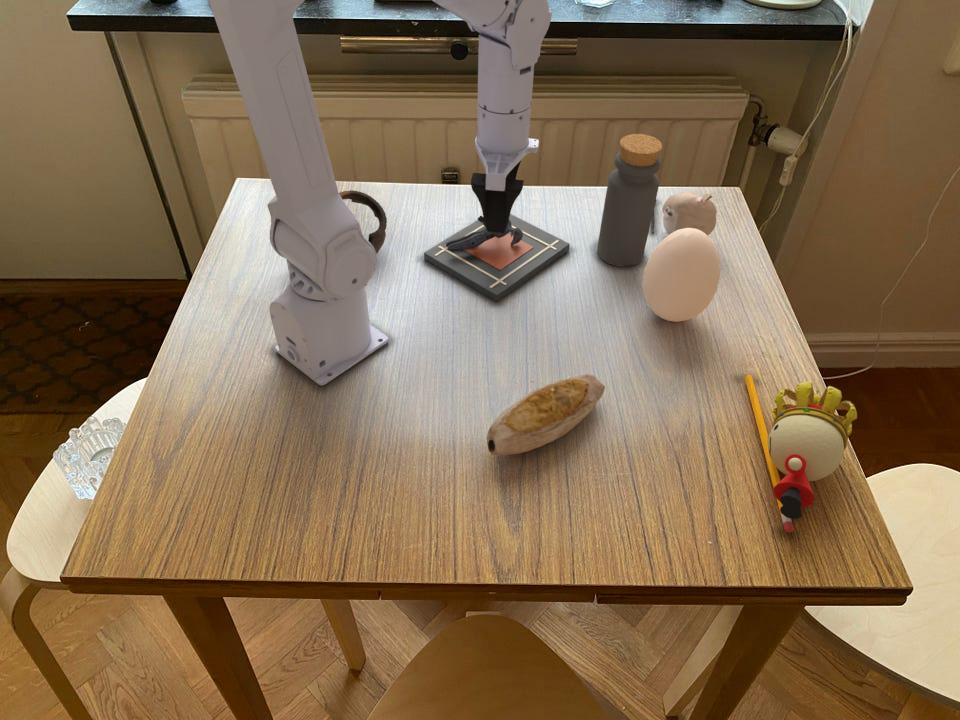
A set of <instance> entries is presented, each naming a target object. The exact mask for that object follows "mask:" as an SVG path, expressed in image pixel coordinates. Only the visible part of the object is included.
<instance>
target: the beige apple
mask: <svg viewBox="0 0 960 720" xmlns="http://www.w3.org/2000/svg"><path fill="white" fill-rule="evenodd" d="M713 194H714V193H707V194H704V195H701V194H698V193H695V192H692V191H682V192H678V193H675V194H671V195H670V196H668V197H667V199H665V201H664V203H663V206H662V223H663V228H664V230H665V231H666V232H667V233H668V235H669V234H671V233H673V232H674V231H677V230H680V229H684V228H694V229H698V230H700V231H702V232H704V233H705V234H706V235H707V236H708V237H709V235H710V234H712V233H713V232H714V230H715V228H716V225H717V212H718V211H717V207H716V205H715V203H714V202H713V201H712V200H711V199H712V198H714V196H712V195H713Z"/></svg>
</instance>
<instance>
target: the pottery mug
mask: <svg viewBox="0 0 960 720" xmlns="http://www.w3.org/2000/svg"><path fill="white" fill-rule="evenodd" d="M339 195H340V196H341V198H342V199H343V201H345V200H351V201H350V202H352V203H355V204H360V205H364V206H367V207H369V208H370V210H371V211H372V213H373V215H374V217H375V218H377V220H378V228H377V229H376V230H375V231H374V232H371V233H369V234H368V238H367V240H368V241H369V242H370V243H371V244H372V245H373V247H374V249H375V251H376V255H377V254H378V253H379V252H380V250H381V248H382V247H383V245H384V243H385V240H386V238H387V237H386V236H387V233H386V229H387V226H388V225H387V223H388V217H387V215H386V212H385V210H384V208H383V207H382V205H381V204H380V203H379V201H377V200H376V199H375V198H373V197H372V196H370V195H369V194H367V193H365V192H363V191H360V190H359V191H358V190H352V189H351V190H350V189H349V190H343V191H340V192H339Z"/></svg>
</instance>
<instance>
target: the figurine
mask: <svg viewBox="0 0 960 720" xmlns="http://www.w3.org/2000/svg"><path fill="white" fill-rule="evenodd" d="M477 220H479V221H480V222H481V223H482V224H483V225H484V226H485V222H484V218H483V215H479V216H478V217H477ZM477 220H476V221H477ZM485 227H486V226H485ZM514 230H515V231H514ZM514 230H513V229H512V225H511V221H510V219H509V220H508V224H507V227H506V230H505V232H504V233H498V232H488V231H487V229H486V228H484V229H483V230H481V231H479V232H473V233H470V234H468V235H467V236H464V237H461V238H458V239H455V240H451V241H448V242H447V243H446V244H445V245H446V247H447V248H448V249H449V250H459V249H469V248H474V247H478V246H479V245H481V244H482V243H484V242H485V241H487V240H489V239H492V238H493V237H497V238H501V237H503V236H505V235H507V234H508V233H509V231H510V232H511V237H512V235H513V234H514V235H513V240H512V242H511V245H514V244H517V243H518V242H520V241H521V239H522V237H523V232H522V231H521V229H519V228H515V229H514Z"/></svg>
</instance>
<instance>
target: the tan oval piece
mask: <svg viewBox="0 0 960 720" xmlns="http://www.w3.org/2000/svg"><path fill="white" fill-rule="evenodd" d="M605 389H606V386H605V385H604V383H603V382H601V381H600V380H598V378H597V377H596V376H595V375H594V374H583V375H577V376H572V377H570V378H566V379H561V380H558V381H555V382H552V383H549V384H547V385H544V386H542V387H539V388H536V389H535V390H532V391H531V392H529V393H528V394H527V395H525V396H523V397H522V398H520V399H519V400H517V401H516V402H514V403H513V404H511V405H510V406H509V407H507V408H506V409H504V410H503V411H502V412H501V413H500V414H499V415H498V416H497V418H496V419H494V421H493V422H492V424H491V425H490V427H489V429H488V431H487V435H486V444H487V451H488V452H489V453H490V454H491V455H492V456H495V457H499V456H508V455H518V454H524V453H527V452H530V451H532V450H534V449H535V450H536V449H538V448H541V447H543V446H545V445H547V444H551V443H552V442H554V441H557V440H558V439H560V438H561V437H564V435H566V434H568V433H569V432H570V431H572V430H573V429H574V428H575V427H576V426H577V425H579V424H580V423H581V422H582V421H583V420H584V419H585V418H586V417H587V416H588V415H589V414H590V413H591V412H592V410H593V409H595V407H596V405H597V404H598V402H599V401H600V400H601V398H602V397H603V395H604V392H605Z"/></svg>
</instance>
